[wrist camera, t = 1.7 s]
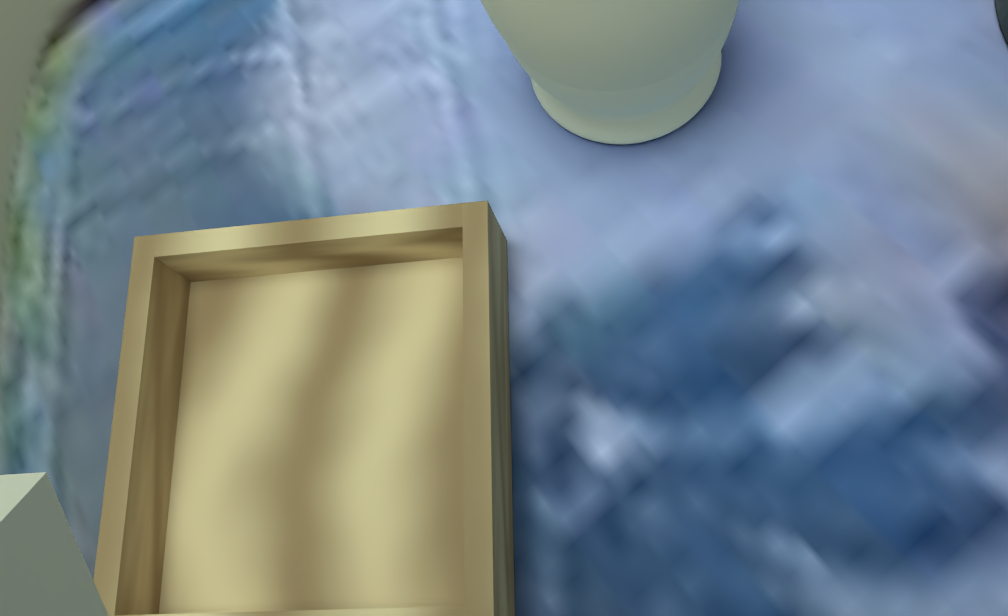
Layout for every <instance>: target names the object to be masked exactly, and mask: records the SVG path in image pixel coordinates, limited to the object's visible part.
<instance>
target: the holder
mask: <svg viewBox="0 0 1008 616" xmlns="http://www.w3.org/2000/svg"><path fill="white" fill-rule="evenodd" d="M94 583H95V586H96V588H97V590H98V593H99V595H100V597H101V600H102V602H103V604H104V606H105V609H106V611H107V613H108V616H515V590H514V544H513V499H512V454H511V409H510V364H509V318H508V273H507V240H506V238H505V236H504V234H503V232H502V230H501V228H500V225H499V223H498V221H497V219H496V217H495V215H494V213H493V211H492V209H491V207H490V205H489V203H488V201H479V202H469V203H460V204H450V205H440V206H430V207H421V208H411V209H401V210H392V211H382V212H372V213H362V214H353V215H343V216H333V217H323V218H314V219H304V220H294V221H284V222H275V223H265V224H255V225H245V226H236V227H226V228H216V229H206V230H197V231H187V232H177V233H167V234H158V235H148V236H138V237H135V238H134V246H133V255H132V263H131V271H130V280H129V288H128V297H127V305H126V313H125V322H124V330H123V338H122V347H121V355H120V363H119V372H118V380H117V389H116V397H115V405H114V414H113V422H112V430H111V439H110V447H109V455H108V464H107V472H106V481H105V489H104V497H103V506H102V514H101V522H100V531H99V539H98V548H97V556H96V564H95V573H94Z"/></svg>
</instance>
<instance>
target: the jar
mask: <svg viewBox="0 0 1008 616" xmlns="http://www.w3.org/2000/svg"><path fill="white" fill-rule="evenodd" d="M481 2H482V4H483V6H484V8H485V10H486V12H487V13H488V15H489V17H490V19H491V20H492V22H493V23H494V25H495V27H496V28H497V30H498V31H499V33H500V34H501V36H502V37H503V39H504V40H505V41H506V43H507V45H508V46H509V48H510V50H511V52H512V53H513V55H514V56H515V58H516V59H517V61H518V62H519V64H520V65H521V66H522V68H523V69H524V70H525V71H526V73H527V74H528V75H529V76H530V77H531V82H532V86H533V89H534V92H535V94H536V96H537V98H538V100H539V102H540V104H541V105H542V107H543V108H544V109H545V111H546V112H547V113H548V114H549V115H550V116H551V117H552V118H553V119H554V120H555V121H556V122H557V123H558V124H560V125H561V126H562V127H564V128H565V129H567V130H568V131H570V132H572V133H574V134H576V135H578V136H580V137H583V138H586V139H589V140H592V141H596V142H601V143H608V144H633V143H640V142H645V141H649V140H652V139H656V138H659V137H661V136H664V135H666V134H668V133H670V132H672V131H674V130H676V129H677V128H679V127H681V126H682V125H683V124H685V123H686V122H688V121H689V120H690V119H691V118H692V117H693V116H694V115H696V114H697V112H698V111H699V110H700V109H701V108H702V107H703V106H704V104H705V103H706V102H707V100H708V99H709V97H710V96H711V94H712V92H713V90H714V88H715V86H716V83H717V80H718V77H719V73H720V68H721V59H722V53H721V49H722V47H723V45H724V43H725V41H726V39H727V37H728V34H729V32H730V29H731V27H732V24H733V21H734V18H735V14H736V10H737V6H738V3H739V0H481Z"/></svg>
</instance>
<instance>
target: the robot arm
mask: <svg viewBox="0 0 1008 616" xmlns="http://www.w3.org/2000/svg"><path fill="white" fill-rule="evenodd" d="M995 4H996V10H997V15H998V19H999V22H1000V26H1001V28H1002V31H1003V34H1004V36H1005V39H1006V41H1007V43H1008V0H995ZM0 616H108V613H107V611H106V609H105V606H104V604H103V602H102V600H101V597H100V595H99V593H98V590H97V588H96V586H95V583H94V581H93V579H92V576H91V574H90V572H89V570H88V567H87V565H86V563H85V560H84V558H83V556H82V553H81V551H80V549H79V546H78V544H77V542H76V540H75V537H74V535H73V533H72V530H71V528H70V526H69V523H68V521H67V519H66V516H65V514H64V512H63V510H62V507H61V505H60V503H59V500H58V498H57V496H56V493H55V491H54V489H53V486H52V484H51V482H50V480H49V477H48V475H47V473H46V472H43V473H28V474H12V475H0Z"/></svg>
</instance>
